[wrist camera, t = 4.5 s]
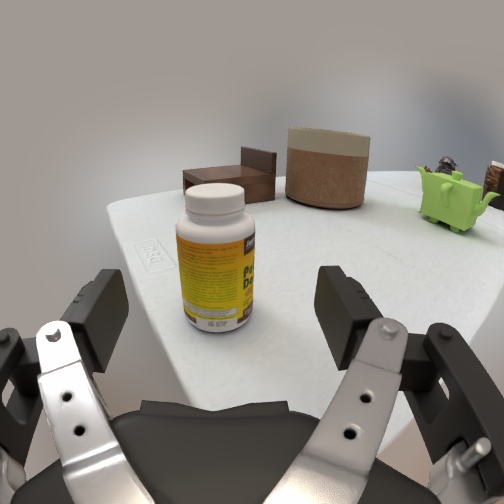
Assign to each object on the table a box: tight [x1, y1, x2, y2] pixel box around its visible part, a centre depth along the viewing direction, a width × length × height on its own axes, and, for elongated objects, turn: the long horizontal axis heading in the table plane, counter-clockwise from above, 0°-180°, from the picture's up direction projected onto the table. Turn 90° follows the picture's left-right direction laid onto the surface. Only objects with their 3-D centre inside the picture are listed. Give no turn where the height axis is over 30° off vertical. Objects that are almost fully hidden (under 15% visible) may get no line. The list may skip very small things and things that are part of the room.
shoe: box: [435, 157, 456, 176], centre depth 70 cm, size 10×27×12 cm, turn 150°
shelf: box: [183, 147, 277, 204], centre depth 53 cm, size 14×12×9 cm
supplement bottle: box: [176, 183, 255, 332], centre depth 21 cm, size 6×6×10 cm
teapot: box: [415, 166, 500, 232], centre depth 45 cm, size 15×13×11 cm
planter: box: [285, 127, 370, 209], centre depth 53 cm, size 16×16×14 cm
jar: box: [481, 161, 504, 210], centre depth 68 cm, size 12×12×15 cm
